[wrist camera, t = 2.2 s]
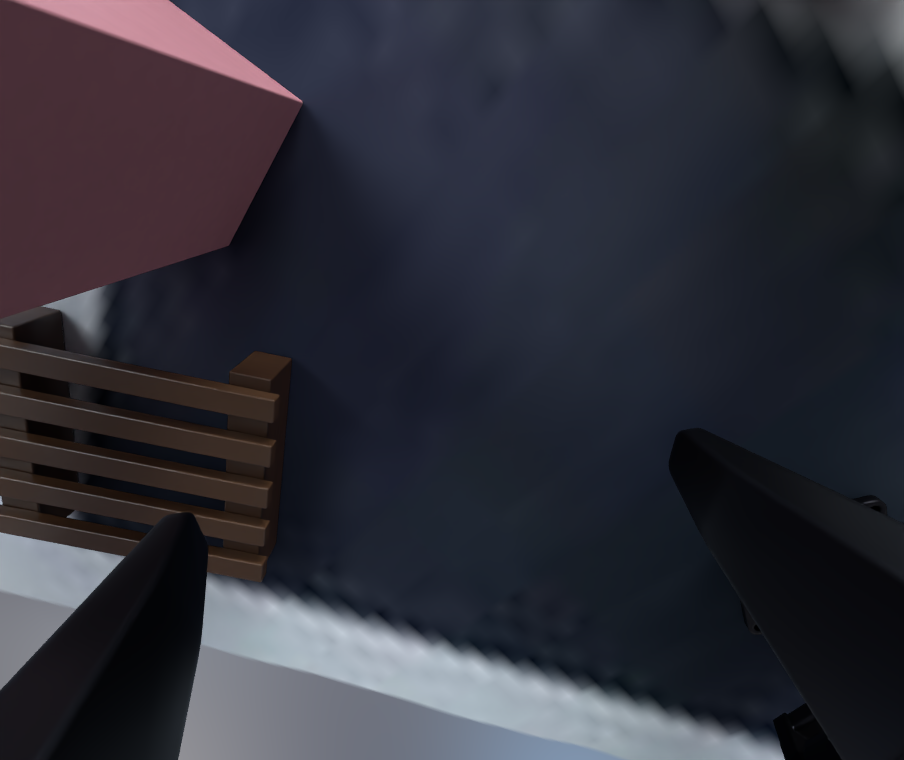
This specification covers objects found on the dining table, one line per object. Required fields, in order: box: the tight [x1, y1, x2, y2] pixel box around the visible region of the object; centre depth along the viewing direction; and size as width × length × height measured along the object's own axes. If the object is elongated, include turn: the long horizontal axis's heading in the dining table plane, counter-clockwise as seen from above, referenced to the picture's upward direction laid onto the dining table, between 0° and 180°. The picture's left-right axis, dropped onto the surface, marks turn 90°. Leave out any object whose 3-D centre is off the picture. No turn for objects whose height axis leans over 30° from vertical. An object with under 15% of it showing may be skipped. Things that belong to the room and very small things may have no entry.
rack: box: [0, 306, 292, 582], centre depth 22 cm, size 12×10×3 cm
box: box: [0, 0, 303, 319], centre depth 12 cm, size 7×6×13 cm
